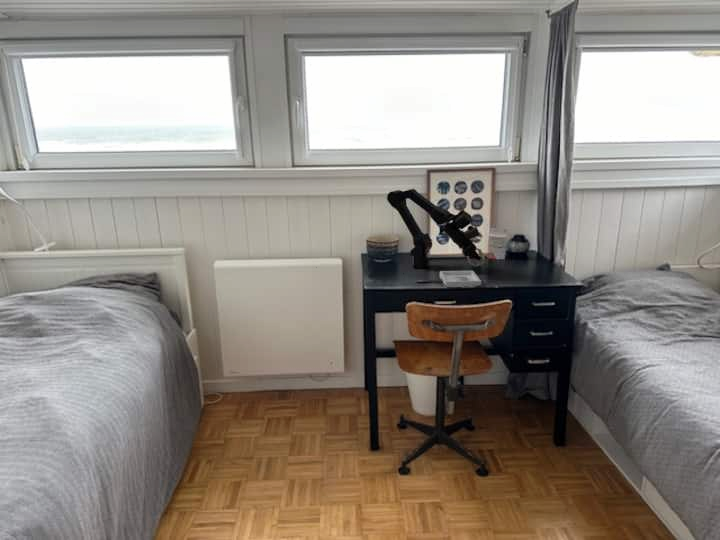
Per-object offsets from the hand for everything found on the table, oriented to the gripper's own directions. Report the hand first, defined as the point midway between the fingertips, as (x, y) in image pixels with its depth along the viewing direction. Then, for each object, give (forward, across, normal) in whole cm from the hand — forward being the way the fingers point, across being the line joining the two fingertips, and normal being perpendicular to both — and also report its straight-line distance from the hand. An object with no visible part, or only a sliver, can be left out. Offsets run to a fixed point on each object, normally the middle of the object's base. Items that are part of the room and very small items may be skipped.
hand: (479, 258), depth 220 cm
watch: (+4, 0, +6) cm, 7 cm away
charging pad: (-7, -14, +16) cm, 22 cm away
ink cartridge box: (+14, +23, -4) cm, 27 cm away
